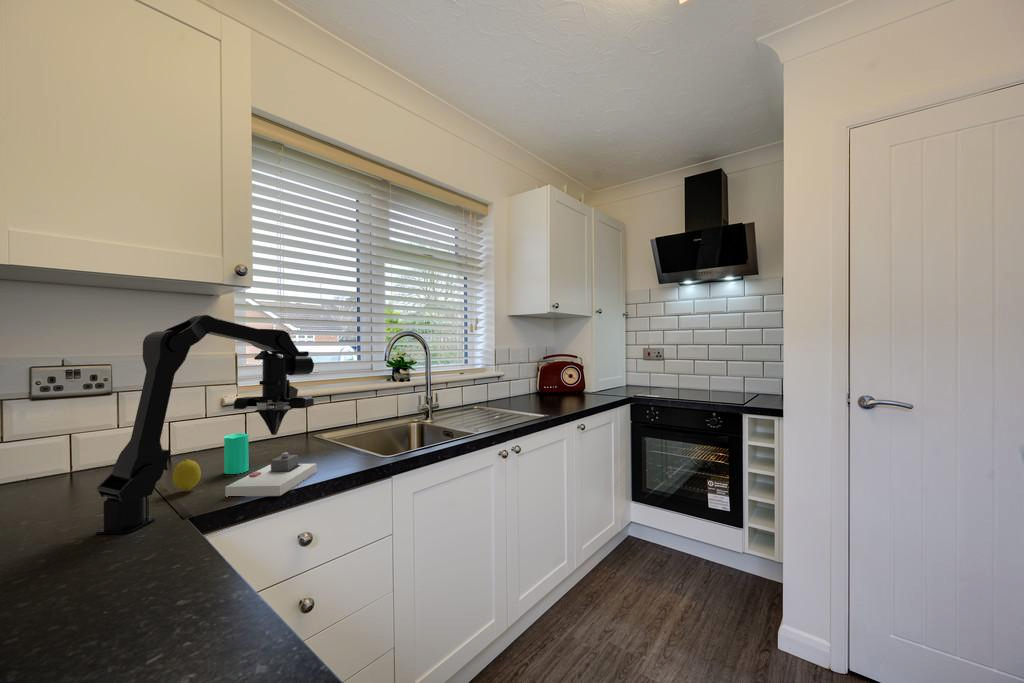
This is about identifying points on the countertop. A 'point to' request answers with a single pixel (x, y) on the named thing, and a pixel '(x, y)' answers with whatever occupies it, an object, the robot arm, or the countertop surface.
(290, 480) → the socket plate
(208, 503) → the countertop surface
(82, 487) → the countertop surface
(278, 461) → the plug
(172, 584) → the countertop surface
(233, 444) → the candle
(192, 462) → the lemon
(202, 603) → the countertop surface
